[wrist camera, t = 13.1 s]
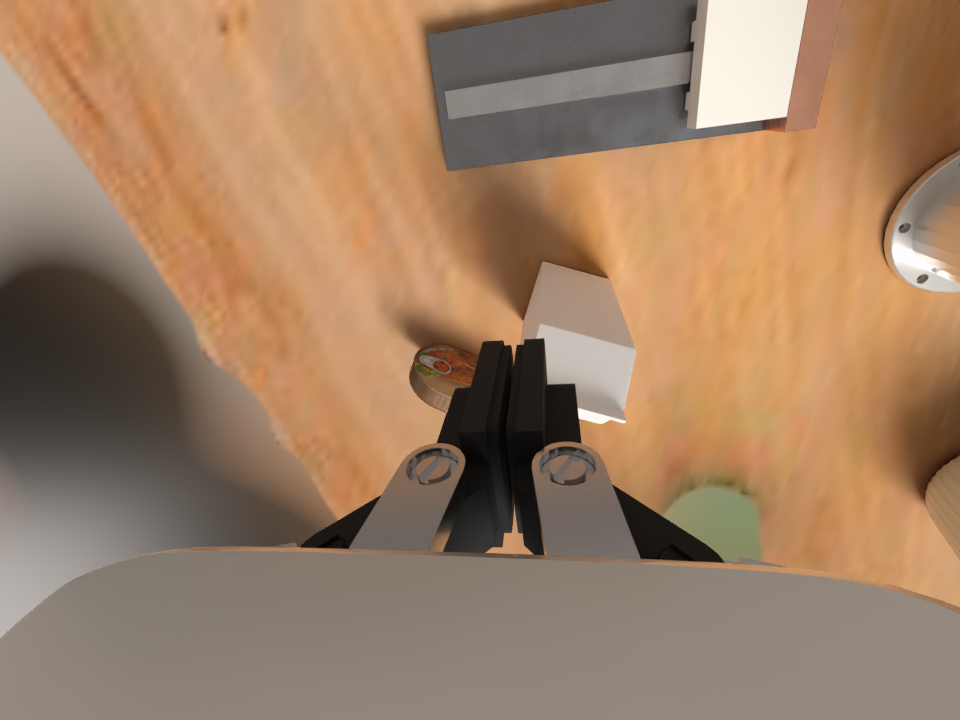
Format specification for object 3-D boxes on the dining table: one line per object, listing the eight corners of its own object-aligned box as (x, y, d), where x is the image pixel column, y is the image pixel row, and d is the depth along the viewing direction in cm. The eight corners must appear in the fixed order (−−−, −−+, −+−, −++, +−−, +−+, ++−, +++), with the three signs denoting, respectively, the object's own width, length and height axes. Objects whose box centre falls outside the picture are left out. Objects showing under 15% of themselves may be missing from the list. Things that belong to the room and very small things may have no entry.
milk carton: (542, 260, 44) (539, 350, 27) (610, 278, 44) (648, 379, 27) (522, 322, 47) (509, 433, 31) (585, 339, 47) (605, 460, 31)
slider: (786, -16, 30) (813, -30, 27) (765, 116, 34) (786, 116, 31) (693, 1, 31) (709, -10, 28) (683, 127, 35) (696, 128, 32)
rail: (811, -34, 31) (854, -57, 26) (782, 125, 36) (815, 128, 31) (430, 37, 36) (414, 28, 31) (450, 169, 41) (438, 175, 36)
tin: (544, 386, 51) (543, 432, 44) (531, 405, 53) (529, 452, 45) (426, 333, 50) (405, 371, 42) (417, 354, 51) (396, 395, 44)
